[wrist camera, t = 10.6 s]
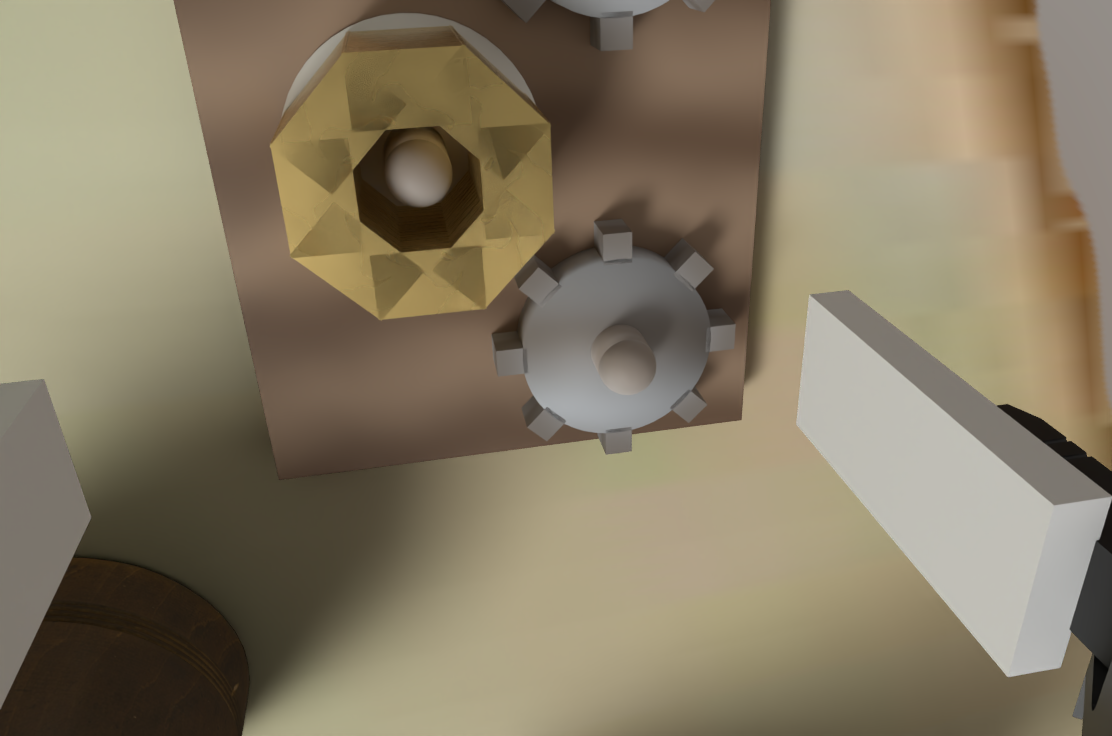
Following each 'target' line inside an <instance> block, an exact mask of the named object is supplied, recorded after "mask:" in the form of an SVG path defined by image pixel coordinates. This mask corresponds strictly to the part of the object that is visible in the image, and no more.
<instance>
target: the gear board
mask: <svg viewBox="0 0 1112 736" xmlns="http://www.w3.org/2000/svg"><path fill="white" fill-rule="evenodd" d="M174 5H175V9H176V14H177V18H178V23H179V27H180V32H181V36H182V41H183V46H184V50H185V55H186V59H187V64H188V68H189V73H190V77H191V82H192V86H193V91H194V96H195V100H196V105H197V109H198V114H199V118H200V123H201V127H202V132H203V136H204V141H205V146H206V150H207V155H208V159H209V164H210V168H211V173H212V177H213V182H214V186H215V191H216V195H217V200H218V205H219V209H220V214H221V218H222V223H223V227H224V232H225V236H226V241H227V245H228V250H229V255H230V259H231V264H232V268H233V273H234V277H235V282H236V286H237V291H238V295H239V300H240V305H241V309H242V314H243V318H244V323H245V327H246V332H247V336H248V341H249V345H250V350H251V355H252V359H253V364H254V368H255V373H256V377H257V382H258V386H259V391H260V395H261V400H262V405H263V409H264V414H265V418H266V423H267V427H268V432H269V436H270V441H271V445H272V450H273V455H274V459H275V464H276V468H277V473H278V477H279V480H284V479H291V478H299V477H307V476H314V475H322V474H330V473H337V472H345V471H353V470H361V469H368V468H376V467H384V466H391V465H399V464H407V463H414V462H422V461H430V460H437V459H445V458H453V457H461V456H468V455H476V454H484V453H491V452H499V451H507V450H514V449H522V448H530V447H537V446H545V445H553V444H560V443H568V442H576V441H584V440H591V439H600V442H601V444H602V446H603V449H604V451H605V453H606V454H614V453H621V452H629V451H632V434H637V433H645V432H653V431H660V430H668V429H676V428H684V427H691V426H699V425H707V424H714V423H722V422H730V421H737V420H741V419H742V405H743V390H744V376H745V362H746V348H747V333H748V319H749V305H750V291H751V276H752V262H753V248H754V233H755V219H756V205H757V191H758V176H759V162H760V148H761V134H762V119H763V105H764V91H765V77H766V62H767V48H768V34H769V19H770V5H771V0H174ZM449 25H451V26H453V27H454V29H455V30H456V31H457V32H458V33H459V34H460V35H461V36H462V37H464V38H465V39H466V40H467V41H468V42H469V43H470V44H471V45H472V46H473V47H474V48H475V49H477V50H478V51H479V52H480V53H481V54H482V55H483V56H484V57H485V58H486V59H487V60H488V61H490V62H491V63H492V64H493V65H494V66H495V67H496V68H497V69H498V70H499V71H500V72H501V73H503V74H504V75H505V76H506V77H507V78H508V79H509V80H510V81H511V82H512V83H513V84H514V85H516V86H517V87H518V88H519V89H520V90H521V91H522V92H523V93H526V94H527V96H528V97H529V98H530V99H531V100H532V102H533V103H534V104H535V105H536V106H537V108H538V109H539V110H540V111H541V112H542V114H543V115H544V116H545V117H546V118H547V119H548V121H549V122H550V124H551V127H550V131H551V157H552V184H553V211H554V229H555V232H554V234H552V235H551V236H550V237H549V239H548V240H547V241H546V242H545V243H544V244H543V245H542V246H541V247H540V249H539V250H538V251H537V252H536V253H535V254H534V255H533V256H532V257H531V258H530V260H529V261H528V262H527V263H526V264H525V265H524V266H523V267H522V268H521V270H520V271H519V272H518V273H517V274H516V275H515V276H514V277H513V278H512V280H511V281H510V282H509V283H508V284H507V285H506V286H505V287H504V288H503V289H502V291H501V292H500V293H499V294H498V295H497V296H496V297H495V298H494V299H493V301H492V302H491V303H490V304H489V305H488V306H487V307H486V309H484V310H483V309H479V310H470V311H460V312H451V313H441V314H432V315H422V316H413V317H403V318H394V319H384V320H382V321H381V320H379V319H378V318H377V317H375V316H374V315H373V314H371V313H370V312H368V311H367V310H366V309H364V308H363V307H361V306H360V305H358V304H357V303H356V302H354V301H353V300H351V299H350V298H349V297H347V296H346V295H344V294H343V293H341V292H340V291H339V290H337V289H336V288H334V287H333V286H332V285H330V284H329V283H327V282H326V281H325V280H323V279H322V278H320V277H319V276H317V275H316V274H315V273H313V272H312V271H310V270H309V269H308V268H306V267H305V266H303V265H302V264H300V263H299V262H298V261H296V260H295V259H293V258H291V256H290V249H289V244H288V238H287V233H286V227H285V222H284V217H283V211H282V206H281V200H280V195H279V189H278V184H277V179H276V173H275V168H274V162H273V157H272V151H271V148H270V143H271V141H272V138H273V136H274V134H275V132H276V130H277V127H278V125H279V123H280V121H281V118H282V116H283V114H284V112H285V110H287V109H288V108H289V107H290V105H291V104H292V103H293V101H294V100H295V99H296V98H297V96H298V95H299V94H300V92H301V91H302V90H303V89H304V87H305V86H306V85H307V83H308V82H309V81H310V80H311V78H312V77H313V76H314V74H315V73H316V72H317V71H318V69H319V68H320V67H321V65H322V64H323V63H324V62H325V60H326V59H327V58H328V56H329V55H330V54H331V53H332V51H333V50H334V49H335V47H336V46H337V45H338V44H339V42H340V41H341V40H342V38H343V37H344V36H345V34H346V32H348V31H350V32H353V31H370V30H387V29H404V28H421V27H438V26H449ZM360 170H361V177H362V179H363V180H364V181H366V182H367V183H368V184H369V185H371V186H372V187H373V188H374V189H376V190H377V191H378V192H380V193H381V194H382V195H383V196H385V197H386V198H387V199H389V200H390V201H391V202H392V203H394V204H395V205H396V206H406V205H408V206H411V207H428V206H431V205H433V204H435V203H440V202H442V200H443V199H444V198H445V197H446V196H447V195H448V193H449V192H450V191H451V190H452V189H453V188H454V186H455V185H456V184H457V183H458V182H459V180H460V179H461V178H462V177H463V176H464V175H465V173H466V172H467V171H468V170H469V167H468V155H467V149H466V148H465V147H464V146H463V145H461V144H460V143H459V142H458V141H457V140H456V139H454V138H453V137H452V136H451V135H450V134H448V133H447V132H446V131H445V130H444V129H443V128H441V127H440V126H431V127H418V128H404V129H391V130H385V131H384V133H383V134H382V135H381V136H380V137H379V139H378V140H377V141H376V142H375V144H374V145H373V146H372V147H371V148H370V150H369V151H368V152H367V153H366V155H365V156H364V157H363V158H362V160H361V161H360Z"/></svg>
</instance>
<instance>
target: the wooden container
mask: <svg viewBox="0 0 1112 736" xmlns="http://www.w3.org/2000/svg"><path fill="white" fill-rule="evenodd" d="M248 691H249V670H248V663H247V660H246V655H245V652H244V649H243V646H242V644H241V643H240V640H239V638H238V636H237V634H236V633H235V631H234V630H233V628H232V627H231V626H230V625H229V624H228V622H227V621H226V620H225V619H224V618H223V616H222V615H221V614H220V613H219V612H218V611H217V610H216V609H215V608H214V607H213V606H212V605H210V604H209V603H208V602H207V601H206V600H204V599H203V598H201V597H200V596H199V595H197V594H196V593H194V592H192V591H191V590H189V589H188V588H186V587H184V586H183V585H181V584H179V583H177V582H175V581H173V580H171V579H169V578H167V577H164V576H162V575H160V574H158V573H155V572H153V571H150V570H147V569H144V568H141V567H138V566H134V565H130V564H125V563H121V562H115V561H108V560H100V559H91V558H74V557H72V559H71V562H70V564H69V566H68V568H67V570H66V572H65V574H64V576H63V578H62V580H61V583H60V585H59V587H58V589H57V591H56V593H55V595H54V597H53V599H52V602H51V604H50V606H49V608H48V610H47V612H46V614H45V616H44V618H43V621H42V623H41V625H40V627H39V629H38V631H37V633H36V635H35V637H34V639H33V642H32V644H31V646H30V648H29V650H28V652H27V654H26V656H25V658H24V661H23V663H22V665H21V667H20V669H19V671H18V673H17V675H16V677H15V680H14V682H13V684H12V686H11V688H10V690H9V692H8V694H7V696H6V698H5V701H4V703H3V705H2V707H1V709H0V736H242V731H243V725H244V719H245V713H246V707H247V700H248Z"/></svg>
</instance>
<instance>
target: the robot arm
mask: <svg viewBox="0 0 1112 736" xmlns="http://www.w3.org/2000/svg"><path fill="white" fill-rule="evenodd" d="M796 424H797V426H798V427H799V428H800V429H801V430H802V432H803V433H804V434H805V435H806V436H807V438H808V439H809V440H810V441H811V442H812V444H813V445H814V446H815V447H816V448H817V450H818V451H819V452H820V453H821V454H822V456H823V457H824V458H825V459H826V460H827V462H828V463H829V464H830V465H831V466H832V468H833V469H834V470H835V471H836V472H837V473H838V475H839V476H840V477H841V478H842V479H843V481H844V482H845V483H846V484H847V485H848V487H849V488H850V489H851V490H852V491H853V493H854V494H855V495H856V496H857V497H858V499H859V500H860V501H861V502H862V503H863V505H864V506H865V507H866V508H867V509H868V511H869V512H870V513H871V514H872V515H873V517H874V518H875V519H876V520H877V521H878V523H879V524H880V525H881V526H882V527H883V529H884V530H885V531H886V532H887V533H888V534H889V536H890V537H891V538H892V539H893V540H894V542H895V543H896V544H897V545H898V546H899V548H900V549H901V550H902V551H903V552H904V554H905V555H906V556H907V557H908V558H909V560H910V561H911V562H912V563H913V564H914V566H915V567H916V568H917V569H918V570H919V572H920V573H921V574H922V575H923V576H924V578H925V579H926V580H927V581H928V582H929V584H930V585H931V586H932V587H933V588H934V590H935V591H936V592H937V593H938V594H939V596H940V597H941V598H942V599H943V600H944V601H945V603H946V604H947V605H948V606H949V607H950V609H951V610H952V611H953V612H954V613H955V615H956V616H957V617H958V618H959V619H960V621H961V622H962V623H963V624H964V625H965V627H966V628H967V629H968V630H969V631H970V633H971V634H972V635H973V636H974V637H975V639H976V640H977V641H978V642H979V643H980V645H981V646H982V647H983V648H984V649H985V651H986V652H987V653H988V654H989V655H990V657H991V658H992V659H993V660H994V661H995V662H996V664H997V665H998V666H999V667H1000V668H1001V670H1002V671H1003V672H1004V673H1005V674H1006V676H1007V677H1012V676H1018V675H1023V674H1029V673H1034V672H1040V671H1045V670H1051V669H1056V668H1061V665H1062V661H1063V658H1064V655H1065V651H1066V648H1067V645H1068V642H1069V638H1070V635H1071V632H1072V633H1073V634H1074V635H1075V636H1076V637H1077V638H1078V639H1079V640H1080V641H1081V642H1082V643H1083V644H1084V645H1085V646H1086V647H1087V648H1088V649H1089V650H1090V651H1091V652H1092V653H1093V654H1092V657H1091V660H1090V663H1089V666H1088V669H1087V672H1086V675H1085V678H1084V681H1083V685H1082V688H1081V691H1080V694H1079V697H1078V700H1077V703H1076V706H1075V709H1074V712H1073V715H1072V716H1073V717H1076V718H1079V719H1082V718H1083V728H1082V736H1112V471H1110V470H1109V469H1108V468H1106V467H1105V466H1104V465H1102V464H1101V463H1100V462H1098V461H1097V460H1096V459H1094V458H1093V457H1092V456H1091V457H1087V455H1086V452H1085V451H1084V450H1082V449H1081V448H1080V447H1078V446H1077V445H1076V444H1074V443H1073V442H1072V441H1068V442H1067V440H1066V437H1065V436H1064V435H1062V434H1061V433H1060V432H1058V431H1057V430H1056V429H1054V428H1053V427H1052V426H1050V425H1049V424H1048V423H1046V422H1045V421H1044V420H1042V419H1041V418H1038V417H1036V416H1034V415H1031V414H1029V413H1027V412H1024V411H1022V410H1020V409H1018V408H1015V407H1013V406H1011V405H1008V404H1005V405H997V406H996V405H995V404H993V403H992V402H991V401H990V400H988V399H987V398H986V397H984V396H983V395H982V394H981V393H979V392H978V391H977V390H976V389H974V388H973V387H972V386H970V385H969V384H968V383H967V382H965V381H964V380H963V379H961V378H960V377H959V376H958V375H956V374H955V373H954V372H952V371H951V370H950V369H949V368H947V367H946V366H945V365H944V364H942V363H941V362H940V361H938V360H937V359H936V358H935V357H933V356H932V355H931V354H929V353H928V352H927V351H926V350H924V349H923V348H922V347H920V346H919V345H918V344H917V343H915V342H914V341H913V340H912V339H910V338H909V337H908V336H906V335H905V334H904V333H903V332H901V331H900V330H899V329H897V328H896V327H895V326H894V325H892V324H891V323H890V322H888V321H887V320H886V319H885V318H883V317H882V316H881V315H880V314H878V313H877V312H876V311H874V310H873V309H872V308H871V307H869V306H868V305H867V304H865V303H864V302H863V301H862V300H860V299H859V298H858V297H857V296H855V295H854V294H853V293H851V292H850V291H849V290H846V291H837V292H828V293H819V294H810V295H809V303H808V313H807V323H806V333H805V343H804V353H803V363H802V373H801V383H800V393H799V403H798V413H797V422H796ZM90 519H91V515H90V512H89V509H88V506H87V503H86V500H85V497H84V494H83V491H82V488H81V486H80V483H79V480H78V477H77V474H76V471H75V468H74V465H73V462H72V459H71V456H70V453H69V451H68V448H67V445H66V442H65V439H64V436H63V433H62V430H61V427H60V424H59V421H58V418H57V416H56V413H55V410H54V407H53V404H52V401H51V398H50V395H49V392H48V389H47V386H46V384H45V381H44V379H39V380H30V381H21V382H12V383H3V384H0V709H1V707H2V705H3V703H4V701H5V698H6V696H7V694H8V692H9V690H10V688H11V686H12V684H13V682H14V680H15V677H16V675H17V673H18V671H19V669H20V667H21V665H22V663H23V661H24V658H25V656H26V654H27V652H28V650H29V648H30V646H31V644H32V642H33V639H34V637H35V635H36V633H37V631H38V629H39V627H40V625H41V623H42V621H43V618H44V616H45V614H46V612H47V610H48V608H49V606H50V604H51V602H52V599H53V597H54V595H55V593H56V591H57V589H58V587H59V585H60V583H61V580H62V578H63V576H64V574H65V572H66V570H67V568H68V566H69V564H70V562H71V559H72V557H73V555H74V553H75V551H76V549H77V547H78V545H79V543H80V540H81V538H82V536H83V534H84V532H85V530H86V528H87V526H88V524H89V521H90Z"/></svg>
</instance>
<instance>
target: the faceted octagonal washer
mask: <svg viewBox="0 0 1112 736" xmlns="http://www.w3.org/2000/svg"><path fill="white" fill-rule="evenodd" d="M431 126H440V127H441V128H443V129H444V130H445V131H446V132H447V133H448V134H450V135H451V136H452V137H453V138H454V139H456V140H457V141H458V142H459V143H460V144H461V145H463V146H464V147H465V148H466V149H467V155H468V167H469V170H468V171H467V172H466V173H465V175H464V176H463V177H462V178H461V179H460V180H459V182H458V183H457V184H456V185H455V186H454V188H453V189H452V190H451V191H450V192H449V193H448V195H447V196H446V197H445V198H444V199H443V200H442V202H440V203H435V204H433V205H431V206H428V207H411V206H408V205H406V206H396V205H395V204H394V203H392V202H391V201H390V200H389V199H387V198H386V197H385V196H383V195H382V194H381V193H380V192H378V191H377V190H376V189H374V188H373V187H372V186H371V185H369V184H368V183H367V182H366V181H364V180H363V179H362V177H361V170H360V161H361V160H362V158H363V157H364V156H365V155H366V153H367V152H368V151H369V150H370V148H371V147H372V146H373V145H374V144H375V142H376V141H377V140H378V139H379V137H380V136H381V135H382V134H383V133H384V131H385V130H391V129H404V128H418V127H431ZM550 127H551V124H550V122H549V121H548V119H547V118H546V117H545V116H544V115H543V114H542V112H541V111H540V110H539V109H538V108H537V106H536V105H535V104H534V103H533V102H532V100H531V99H530V98H529V97H528V96H527V94H526V93H523V92H522V91H521V90H520V89H519V88H518V87H517V86H516V85H514V84H513V83H512V82H511V81H510V80H509V79H508V78H507V77H506V76H505V75H504V74H503V73H501V72H500V71H499V70H498V69H497V68H496V67H495V66H494V65H493V64H492V63H491V62H490V61H488V60H487V59H486V58H485V57H484V56H483V55H482V54H481V53H480V52H479V51H478V50H477V49H475V48H474V47H473V46H472V45H471V44H470V43H469V42H468V41H467V40H466V39H465V38H464V37H462V36H461V35H460V34H459V33H458V32H457V31H456V30H455V29H454V27H453V26H451V25H449V26H438V27H421V28H404V29H387V30H370V31H353V32H350V31H348V32H346V34H345V36H344V37H343V38H342V40H341V41H340V42H339V44H338V45H337V46H336V47H335V49H334V50H333V51H332V53H331V54H330V55H329V56H328V58H327V59H326V60H325V62H324V63H323V64H322V65H321V67H320V68H319V69H318V71H317V72H316V73H315V74H314V76H313V77H312V78H311V80H310V81H309V82H308V83H307V85H306V86H305V87H304V89H303V90H302V91H301V92H300V94H299V95H298V96H297V98H296V99H295V100H294V101H293V103H292V104H291V105H290V107H289V108H288V109H287V110H285V112H284V114H283V116H282V118H281V121H280V123H279V125H278V127H277V130H276V132H275V134H274V136H273V138H272V141H271V143H270V148H271V151H272V157H273V162H274V168H275V173H276V179H277V184H278V189H279V195H280V200H281V206H282V211H283V217H284V222H285V227H286V233H287V238H288V244H289V249H290V256H291V258H293V259H295V260H296V261H298V262H299V263H300V264H302V265H303V266H305V267H306V268H308V269H309V270H310V271H312V272H313V273H315V274H316V275H317V276H319V277H320V278H322V279H323V280H325V281H326V282H327V283H329V284H330V285H332V286H333V287H334V288H336V289H337V290H339V291H340V292H341V293H343V294H344V295H346V296H347V297H349V298H350V299H351V300H353V301H354V302H356V303H357V304H358V305H360V306H361V307H363V308H364V309H366V310H367V311H368V312H370V313H371V314H373V315H374V316H375V317H377V318H378V319H379V320H381V321H382V320H384V319H394V318H403V317H413V316H422V315H432V314H441V313H451V312H460V311H470V310H479V309H483V310H484V309H486V307H487V306H488V305H489V304H490V303H491V302H492V301H493V299H494V298H495V297H496V296H497V295H498V294H499V293H500V292H501V291H502V289H503V288H504V287H505V286H506V285H507V284H508V283H509V282H510V281H511V280H512V278H513V277H514V276H515V275H516V274H517V273H518V272H519V271H520V270H521V268H522V267H523V266H524V265H525V264H526V263H527V262H528V261H529V260H530V258H531V257H532V256H533V255H534V254H535V253H536V252H537V251H538V250H539V249H540V247H541V246H542V245H543V244H544V243H545V242H546V241H547V240H548V239H549V237H550V236H551V235H552V234H554V232H555V229H554V211H553V184H552V157H551V131H550Z"/></svg>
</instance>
